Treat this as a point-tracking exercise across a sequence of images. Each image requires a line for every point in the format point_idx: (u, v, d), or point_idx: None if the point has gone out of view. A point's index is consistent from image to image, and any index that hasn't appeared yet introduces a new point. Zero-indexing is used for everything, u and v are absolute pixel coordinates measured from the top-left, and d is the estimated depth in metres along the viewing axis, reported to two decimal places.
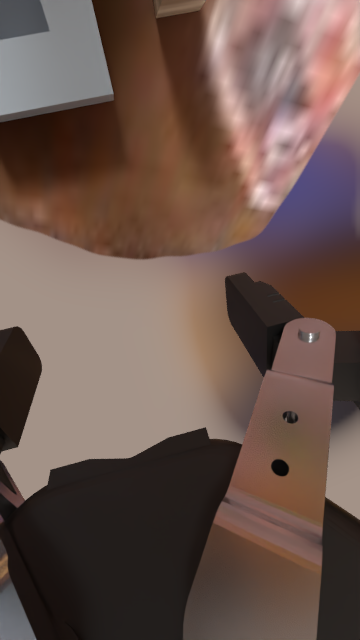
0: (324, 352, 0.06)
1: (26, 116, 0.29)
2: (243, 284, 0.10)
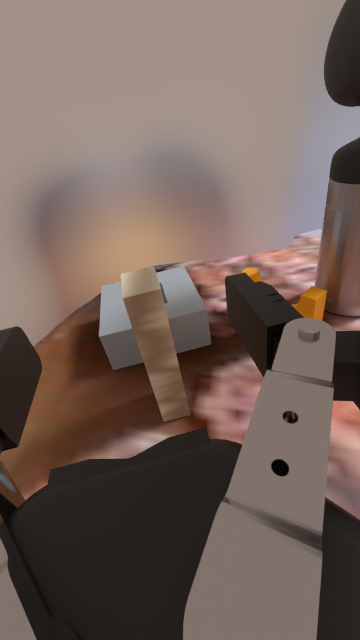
0: (324, 352, 0.06)
1: None
2: (243, 284, 0.10)
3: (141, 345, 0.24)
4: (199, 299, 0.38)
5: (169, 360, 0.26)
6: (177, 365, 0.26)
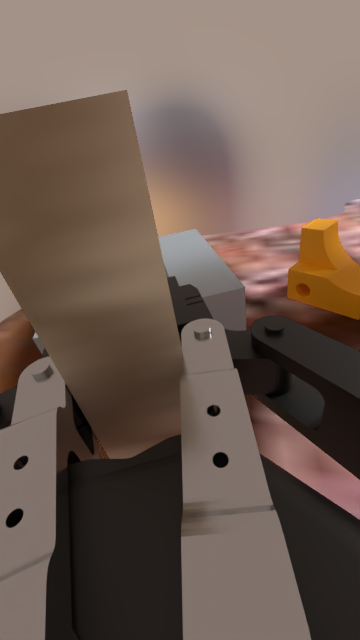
0: (206, 349, 0.07)
1: None
2: None
3: (68, 368, 0.07)
4: (227, 271, 0.21)
5: (171, 412, 0.08)
6: None
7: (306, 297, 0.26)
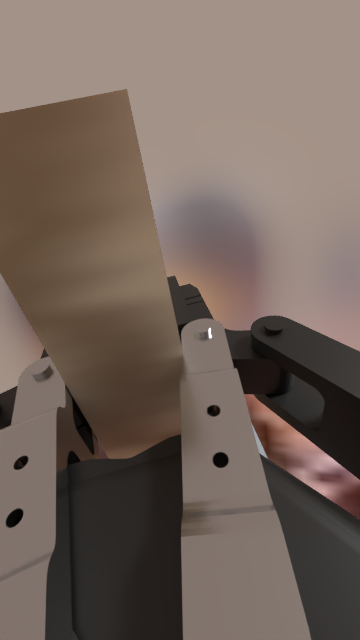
0: (206, 349, 0.07)
1: None
2: None
3: (67, 368, 0.07)
4: None
5: (171, 412, 0.08)
6: None
7: None
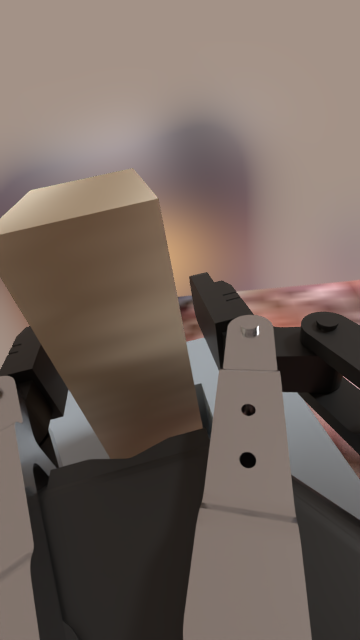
0: (258, 346, 0.07)
1: None
2: (202, 283, 0.10)
3: (93, 413, 0.07)
4: None
5: None
6: None
7: None
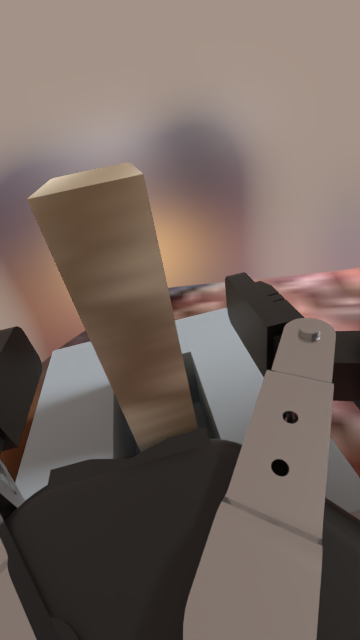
0: (324, 352, 0.06)
1: None
2: (243, 284, 0.10)
3: (99, 342, 0.10)
4: None
5: (169, 376, 0.11)
6: (185, 386, 0.12)
7: None
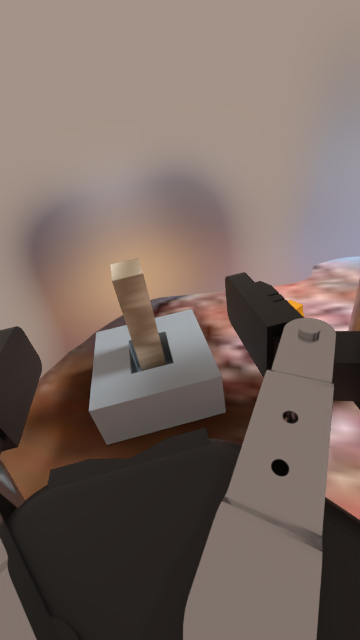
0: (324, 352, 0.06)
1: None
2: (243, 284, 0.10)
3: (127, 321, 0.29)
4: (212, 359, 0.31)
5: (152, 335, 0.31)
6: (159, 340, 0.31)
7: None
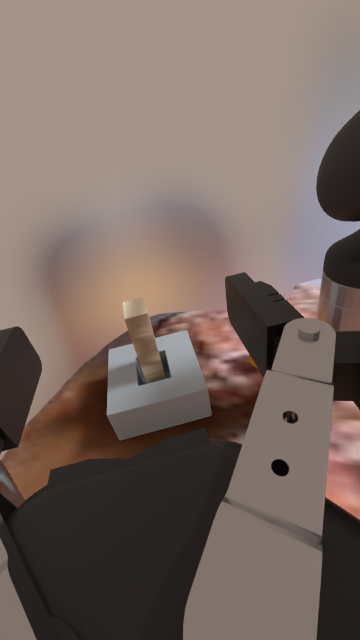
0: (324, 352, 0.06)
1: None
2: (243, 284, 0.10)
3: (136, 347, 0.38)
4: (200, 375, 0.40)
5: (154, 356, 0.40)
6: (159, 360, 0.40)
7: None
